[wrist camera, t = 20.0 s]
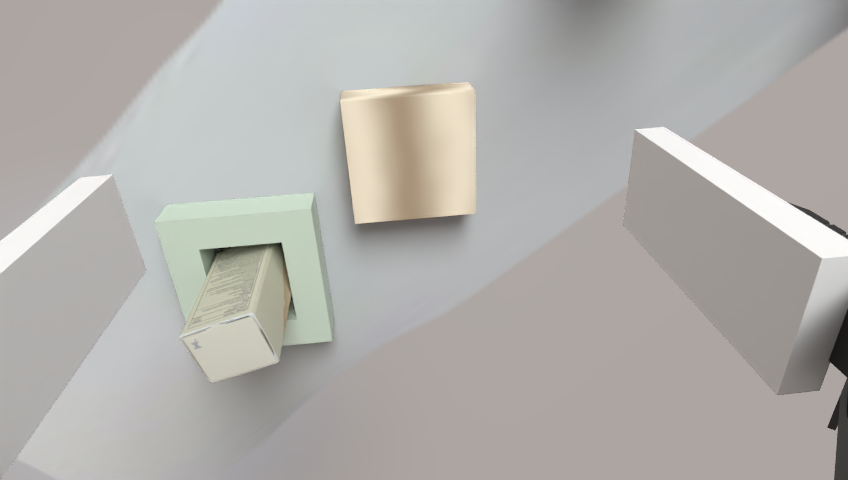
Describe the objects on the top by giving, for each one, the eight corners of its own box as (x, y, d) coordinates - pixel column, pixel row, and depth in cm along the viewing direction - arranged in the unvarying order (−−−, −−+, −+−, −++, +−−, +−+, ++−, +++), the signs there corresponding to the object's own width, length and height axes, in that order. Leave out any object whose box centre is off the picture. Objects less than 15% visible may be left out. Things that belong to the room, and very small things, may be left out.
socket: (314, 192, 42) (310, 208, 39) (334, 319, 48) (332, 341, 45) (167, 204, 41) (154, 222, 39) (205, 331, 47) (196, 354, 44)
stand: (468, 82, 39) (475, 91, 37) (469, 197, 43) (476, 213, 41) (341, 90, 39) (340, 101, 36) (355, 206, 43) (354, 223, 40)
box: (239, 293, 46) (205, 387, 36) (215, 250, 44) (172, 337, 34) (299, 275, 45) (281, 365, 36) (278, 231, 43) (252, 313, 34)
